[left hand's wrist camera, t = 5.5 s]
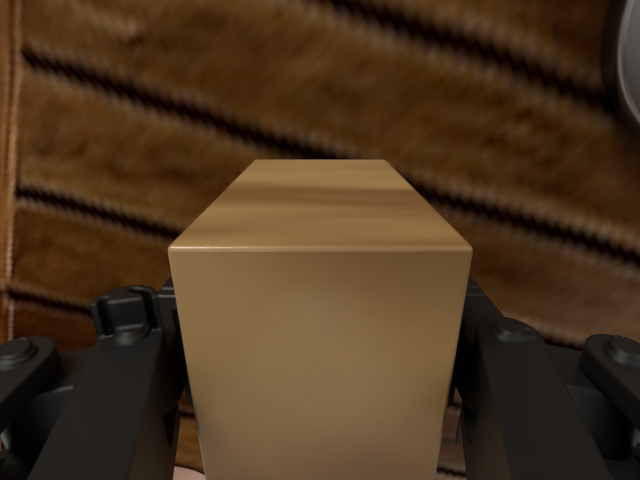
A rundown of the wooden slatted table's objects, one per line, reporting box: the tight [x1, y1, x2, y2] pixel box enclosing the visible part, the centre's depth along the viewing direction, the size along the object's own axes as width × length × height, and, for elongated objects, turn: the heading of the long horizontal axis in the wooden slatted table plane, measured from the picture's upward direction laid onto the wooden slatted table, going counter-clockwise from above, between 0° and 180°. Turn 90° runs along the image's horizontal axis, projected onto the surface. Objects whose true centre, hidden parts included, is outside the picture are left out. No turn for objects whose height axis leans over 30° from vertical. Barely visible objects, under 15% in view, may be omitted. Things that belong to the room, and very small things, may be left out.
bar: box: [168, 160, 473, 480], centre depth 14 cm, size 22×5×8 cm, turn 0°
